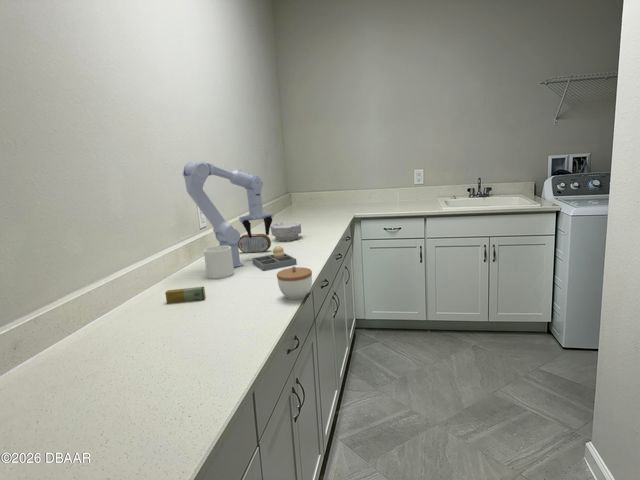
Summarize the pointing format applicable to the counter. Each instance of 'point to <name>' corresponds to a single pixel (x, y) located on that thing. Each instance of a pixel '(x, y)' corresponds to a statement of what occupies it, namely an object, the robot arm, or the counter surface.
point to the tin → (254, 243)
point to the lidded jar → (295, 282)
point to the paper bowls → (286, 230)
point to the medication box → (185, 295)
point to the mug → (219, 262)
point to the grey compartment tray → (273, 262)
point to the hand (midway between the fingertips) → (258, 236)
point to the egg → (278, 252)
